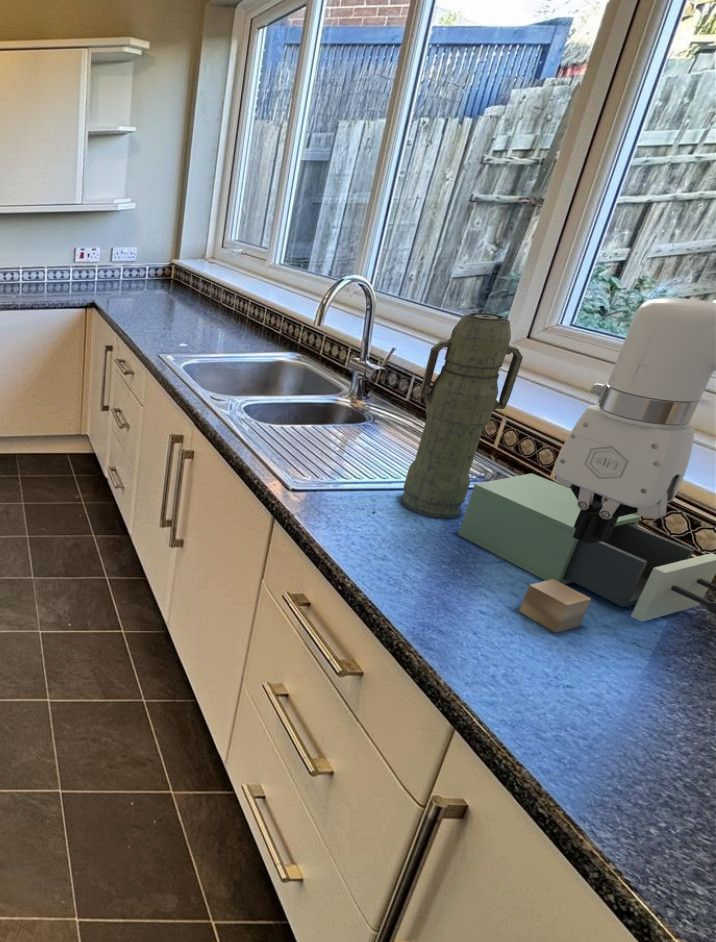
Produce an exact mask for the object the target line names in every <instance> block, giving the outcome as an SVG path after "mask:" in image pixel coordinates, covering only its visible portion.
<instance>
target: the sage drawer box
mask: <svg viewBox="0 0 716 942" xmlns="http://www.w3.org/2000/svg"><path fill="white" fill-rule="evenodd" d="M577 502H578V500H577V498H576V497H575V495H574V493H573V492H572V490H571V489H570V488H568V487H566V486H565V485H563V484H561V483H559V482H558V483H557V482H555V481H552V480H549V479H547V478H545V477H543V476H539V475H537V474H535V473H532V472H531V473H526V474H521V475H515V476H510V477H504V478H500V479H494V480H487V481H483V482H477V483H474V485H473V488H472V491H471V494H470V497H469V500H468V504H467V506H466V510H465V513H464V516H463V519H462V522H461V525H460V528H459V531H458V534H457V535H458V536H460V537H462V538H464V539H466V540H467V541H469V542H471V543H473V544H475V545H477V546H478V547H480V548H482V549H485V550H486V551H488V552H490V553H492V554H494V555H496V556H498V557H500V558H501V559H504V560H505V561H508V562H509V563H511V564H513V565H515V566H517V567H519V568H521V569H522V570H524V571H526V572H528V573H530V574H532V575H534V576H536V577H537V578H539V579H542V580H543V581H547V580H551V579H554V580H556V581H558V582H560V583H562V584H564V585H567V584H572V583H574V582H573V581H571V580H569V579H567V578H565V577H564V574H565V572H566V569H567V567H568V564H569V562H570V560H571V557H572V555H573V552H574V550H575V547H576V545H577V542H578V539H575V538H573V535H574V532H575V530H576V529H575V528H574V524H575V522H576V520H577V517H578V515H579V512H580V510H581V509H580V508H579V507H578V506H577ZM606 502H607V501H606ZM606 502H605V501H604V505H605V503H606ZM604 505H603V506H604ZM641 517H642V516H637V515H634V514H630V515H625V516H621V517H618V520H617V522H616V524H615V526H619V525H623V524H628V523H630V524H632V525H635V526H637V527H638V525H639V522H640V520H641Z"/></svg>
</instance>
